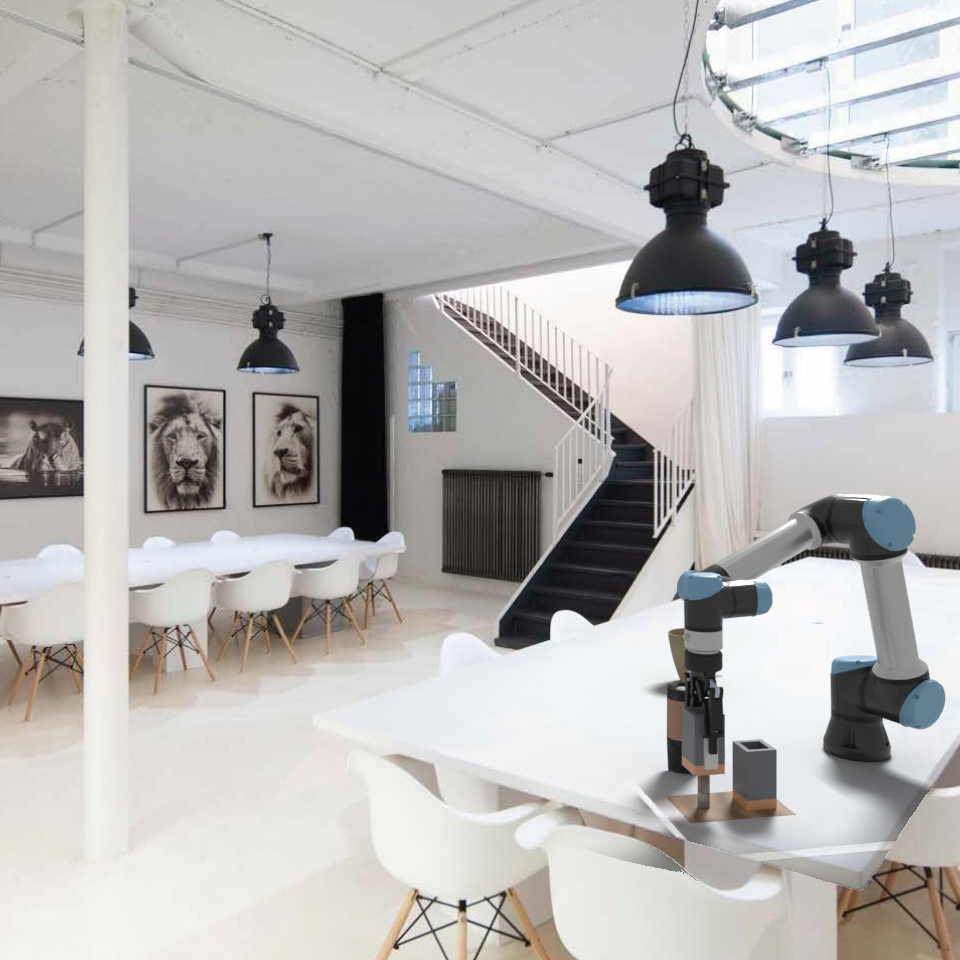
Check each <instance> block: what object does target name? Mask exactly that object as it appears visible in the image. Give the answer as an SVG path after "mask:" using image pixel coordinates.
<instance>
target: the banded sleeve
mask: <svg viewBox="0 0 960 960" xmlns="http://www.w3.org/2000/svg"><path fill="white" fill-rule="evenodd" d="M723 722H724V737H719V738H718V769H712V770H705V769H704V738H703V736H702V735H706V732H705V724H704V715H703V709H702V707H692V706H689V707H682V765H683V766H684V767H685V768H686V769H687V770H688V771H690V772H691V773H692V774H691V775H693V776H694V777H698V776H703V775H710V776H715V775H725V774H726V714H725V713H723Z"/></svg>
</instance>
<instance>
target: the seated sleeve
mask: <svg viewBox="0 0 960 960" xmlns="http://www.w3.org/2000/svg"><path fill="white" fill-rule="evenodd" d="M777 752H778V750H777V749H776V748H775V747H773V746H772V745H770V744H769V743H768V742H766V741H765V740H763V739H762V738H760V739H745V740H733V741H732V791H733V799H734V800H735V801H737V802H738V803H739V804H740V805H741V806H742V807H743V808H744V809H746V810H747V811H750V810H762V809H775V808H777V800H778V799H777V798H778V796H777V789H778V787H777V781H778V780H777V775H778V774H777V772H778V771H777V770H778V769H777V766H778V764H777V759H778V758H777Z"/></svg>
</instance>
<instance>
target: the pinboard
mask: <svg viewBox="0 0 960 960" xmlns="http://www.w3.org/2000/svg"><path fill="white" fill-rule="evenodd" d="M710 777H711V775H703V776H697V793H694V794H692V793H691V794H681V795H669V796H668V795H667V796H665V797H666V799H668V801H669V802H670V803H671V804H672V805H673V806H674V807H675V808H676V809H677V810H678V811H679V812H680V813H681V815H683V817H685V818H686V819H687V821H688V822H689V823H690V824H697V823H710V822H720V821H721V822H723V821H732V820H733V821H734V820H747V819H758V818H760V819H761V818H768V817H769V818H771V817H778V816H779V817H781V816H782V817H783V816H792V815H793V816H795V815H797V814H796V813H795V812H793V811H792V810H791V809H790V808H788V807H787V806H786V805H785V804H784V803H782V801H780V800H778V799H777V808H775V809H762V810H750V811H747V810H746V809H744V808H743V807H742V806H741V805H740V804H739V803H738V802H737V801H735V800H734V799H733V790H732V791H719V792H711V791H710V790H711V787H710V786H711V785H710V784H711V779H710Z"/></svg>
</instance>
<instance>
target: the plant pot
mask: <svg viewBox="0 0 960 960" xmlns="http://www.w3.org/2000/svg"><path fill="white" fill-rule="evenodd" d="M683 634H684V627H680V628H679V627H678V628H672V629H669V630H668V631H667V637H668V642H669V647H670V648H669V649H670V652H671V657H672V659H673V663H674V664H673V665H674V668H675V670H676V672H677V676H678V678H679V680H680V682H684V683H685V675H684V673H685V672H689V671H690V670H688V669H686V668H685V666H684V651H685V650H686V649H687V648H686V647H685V646H684V639H683V636H682V635H683Z"/></svg>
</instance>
